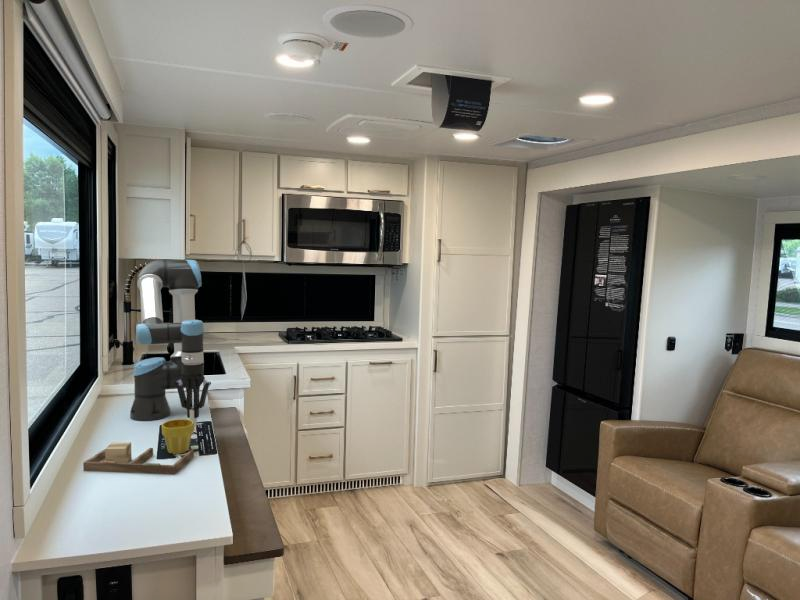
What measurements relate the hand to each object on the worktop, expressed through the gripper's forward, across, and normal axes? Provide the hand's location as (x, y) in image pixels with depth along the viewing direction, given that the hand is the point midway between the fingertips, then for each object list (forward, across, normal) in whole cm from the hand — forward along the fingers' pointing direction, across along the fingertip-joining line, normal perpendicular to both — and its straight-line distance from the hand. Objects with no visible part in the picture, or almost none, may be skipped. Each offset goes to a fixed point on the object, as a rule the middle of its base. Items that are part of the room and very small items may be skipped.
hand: (193, 426), depth 214 cm
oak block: (+5, -14, -26) cm, 30 cm away
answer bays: (+5, -7, -26) cm, 27 cm away
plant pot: (+5, 0, -13) cm, 14 cm away
